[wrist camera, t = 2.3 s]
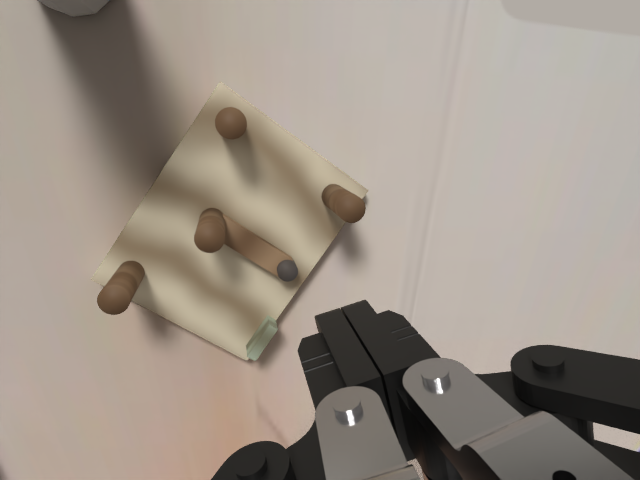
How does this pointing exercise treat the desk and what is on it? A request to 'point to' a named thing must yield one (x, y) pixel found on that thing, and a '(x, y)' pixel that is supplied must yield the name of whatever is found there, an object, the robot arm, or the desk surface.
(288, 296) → the stool frame
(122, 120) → the desk surface
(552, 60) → the desk surface
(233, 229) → the swing leg
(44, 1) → the water bottle
